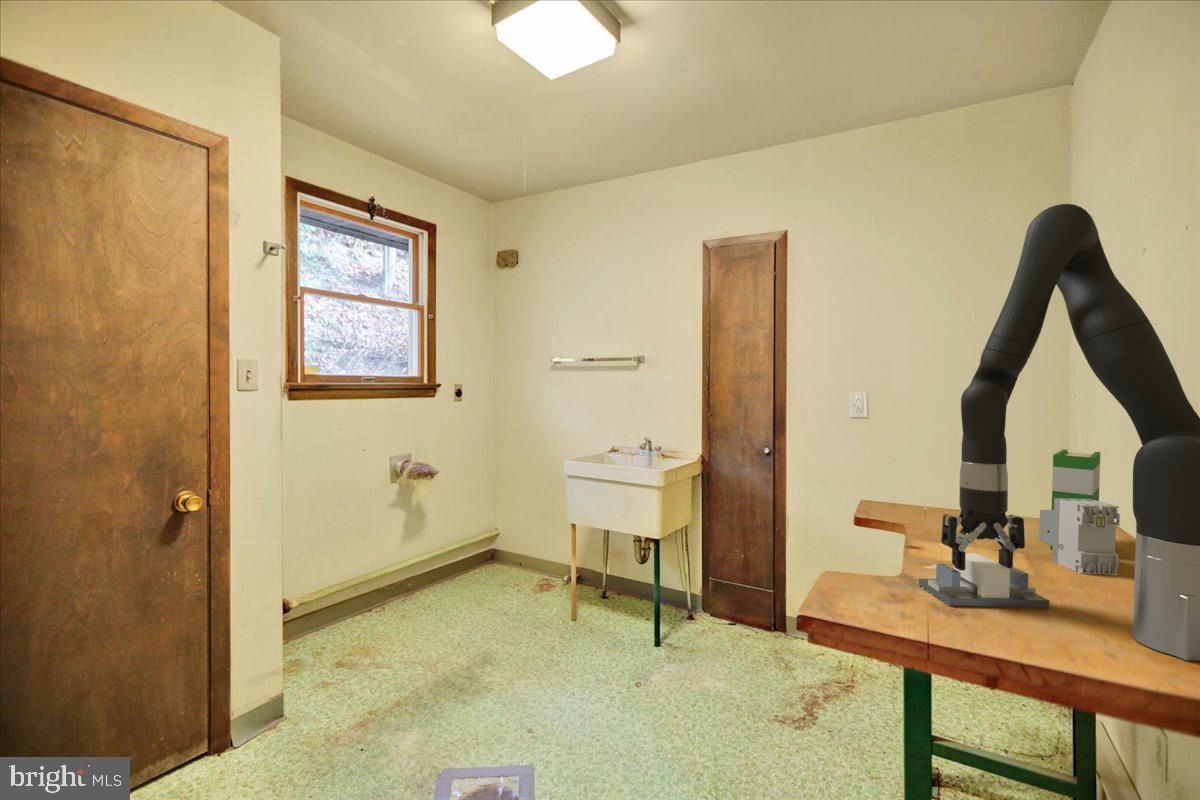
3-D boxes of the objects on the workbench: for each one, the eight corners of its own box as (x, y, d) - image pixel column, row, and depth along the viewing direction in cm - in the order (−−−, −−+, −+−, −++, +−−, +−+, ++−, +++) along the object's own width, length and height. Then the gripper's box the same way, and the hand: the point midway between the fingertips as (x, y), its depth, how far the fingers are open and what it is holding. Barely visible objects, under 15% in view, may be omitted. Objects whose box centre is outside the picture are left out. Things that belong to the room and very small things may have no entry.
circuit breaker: (1066, 554, 129) (1068, 493, 129) (1117, 575, 115) (1120, 506, 115) (1033, 553, 130) (1035, 492, 130) (1080, 574, 116) (1082, 505, 115)
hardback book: (1060, 536, 145) (1063, 449, 144) (1097, 542, 139) (1100, 452, 139) (1050, 550, 133) (1053, 454, 132) (1090, 557, 127) (1093, 457, 127)
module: (1009, 598, 98) (1010, 568, 98) (984, 597, 98) (985, 568, 98) (976, 580, 107) (977, 553, 107) (953, 580, 107) (954, 553, 107)
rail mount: (1049, 608, 97) (1050, 578, 97) (949, 606, 98) (949, 576, 98) (1009, 587, 107) (1009, 560, 107) (918, 585, 108) (919, 559, 108)
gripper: (958, 489, 98) (957, 576, 99) (1036, 489, 98) (1035, 576, 98) (933, 482, 106) (933, 563, 106) (1006, 482, 106) (1005, 563, 106)
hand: (982, 569), depth 102 cm, fingers open, 8 cm apart
